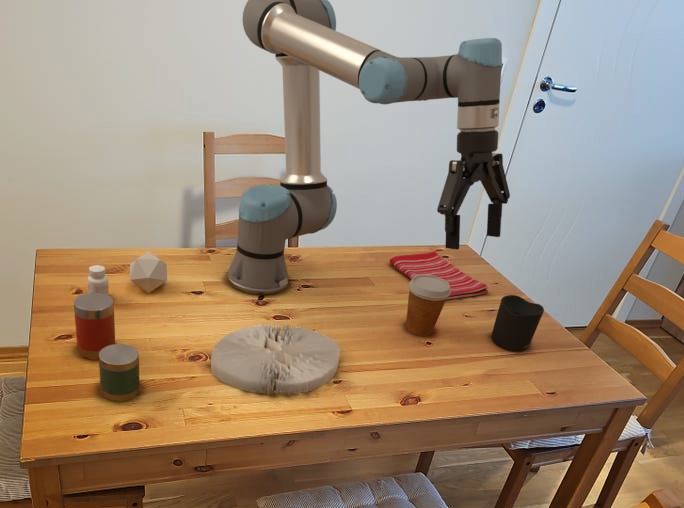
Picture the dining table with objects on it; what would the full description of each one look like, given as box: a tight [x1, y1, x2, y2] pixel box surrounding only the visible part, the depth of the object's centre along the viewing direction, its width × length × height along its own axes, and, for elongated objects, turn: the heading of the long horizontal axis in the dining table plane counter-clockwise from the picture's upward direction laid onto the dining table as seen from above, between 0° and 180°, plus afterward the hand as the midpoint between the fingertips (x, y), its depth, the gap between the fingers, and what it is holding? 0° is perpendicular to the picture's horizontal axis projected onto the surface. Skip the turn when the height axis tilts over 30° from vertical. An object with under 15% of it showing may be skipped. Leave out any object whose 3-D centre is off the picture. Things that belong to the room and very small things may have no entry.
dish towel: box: [389, 251, 489, 301], centre depth 174 cm, size 17×24×3 cm
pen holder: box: [490, 294, 545, 353], centre depth 146 cm, size 9×9×10 cm
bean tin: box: [98, 343, 140, 402], centre depth 115 cm, size 7×7×8 cm
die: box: [129, 250, 168, 294], centre depth 150 cm, size 8×9×10 cm
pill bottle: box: [87, 264, 110, 296], centre depth 142 cm, size 4×4×8 cm
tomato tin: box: [73, 292, 116, 361], centre depth 124 cm, size 7×7×11 cm
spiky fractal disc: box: [210, 323, 341, 396], centre depth 130 cm, size 22×28×3 cm
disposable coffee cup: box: [405, 275, 451, 337], centre depth 146 cm, size 10×10×12 cm
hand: (473, 242), depth 128 cm, fingers open, 13 cm apart
